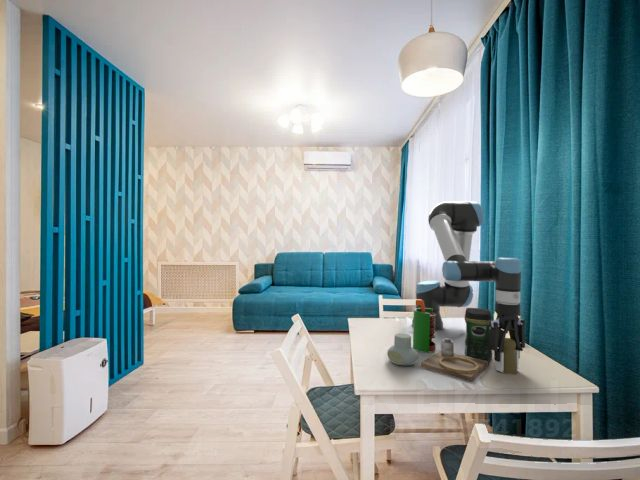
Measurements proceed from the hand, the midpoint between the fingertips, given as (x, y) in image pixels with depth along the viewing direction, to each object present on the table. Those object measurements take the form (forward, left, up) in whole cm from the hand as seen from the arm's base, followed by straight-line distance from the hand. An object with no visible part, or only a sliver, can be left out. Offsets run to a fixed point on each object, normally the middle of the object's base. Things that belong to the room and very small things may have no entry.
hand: (506, 369), depth 110 cm
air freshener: (+19, -29, -1) cm, 35 cm away
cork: (0, 0, -1) cm, 1 cm away
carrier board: (+9, -14, 0) cm, 17 cm away
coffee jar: (-7, -11, -1) cm, 14 cm away
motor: (-1, -30, -1) cm, 31 cm away
